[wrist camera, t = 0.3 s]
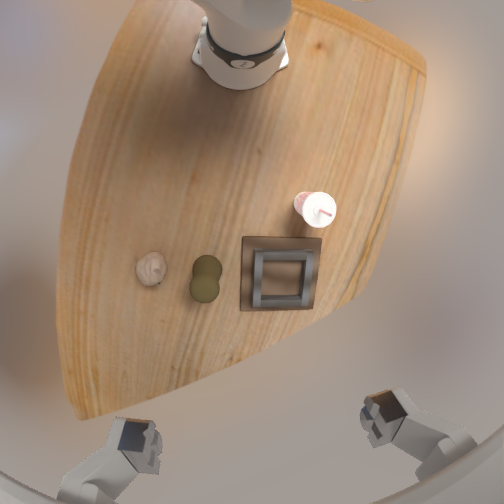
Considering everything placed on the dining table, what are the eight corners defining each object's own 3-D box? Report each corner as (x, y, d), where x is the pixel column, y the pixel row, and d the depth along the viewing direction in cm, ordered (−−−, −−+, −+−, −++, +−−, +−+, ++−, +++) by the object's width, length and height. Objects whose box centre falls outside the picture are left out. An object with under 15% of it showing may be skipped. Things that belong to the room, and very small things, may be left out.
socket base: (242, 236, 54) (244, 240, 51) (320, 237, 56) (326, 242, 52) (240, 308, 59) (241, 316, 55) (311, 306, 60) (316, 314, 57)
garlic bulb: (171, 277, 55) (164, 294, 48) (143, 279, 55) (132, 295, 47) (167, 247, 53) (158, 260, 46) (138, 249, 53) (125, 262, 45)
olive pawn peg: (226, 277, 56) (227, 302, 46) (199, 286, 56) (194, 312, 46) (216, 251, 54) (214, 271, 44) (188, 260, 54) (180, 282, 44)
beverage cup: (284, 209, 53) (304, 223, 40) (299, 182, 52) (324, 187, 39) (309, 223, 55) (336, 241, 41) (324, 197, 53) (355, 207, 40)
